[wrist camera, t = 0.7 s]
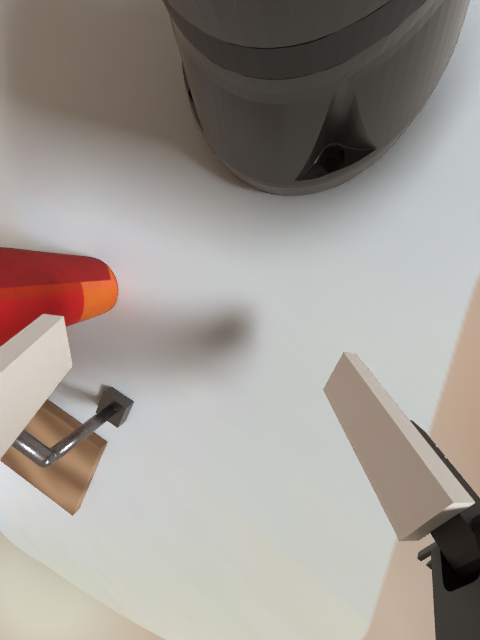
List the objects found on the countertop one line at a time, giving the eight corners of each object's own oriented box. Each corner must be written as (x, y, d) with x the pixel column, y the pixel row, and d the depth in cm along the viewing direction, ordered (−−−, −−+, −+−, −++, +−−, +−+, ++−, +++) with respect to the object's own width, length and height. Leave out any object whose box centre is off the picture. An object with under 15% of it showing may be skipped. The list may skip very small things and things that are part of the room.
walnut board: (24, 383, 29) (15, 387, 28) (107, 442, 28) (100, 448, 27) (8, 454, 34) (0, 460, 33) (79, 508, 33) (72, 515, 32)
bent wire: (22, 326, 27) (-94, 352, 19) (133, 401, 26) (58, 464, 18) (18, 346, 28) (-94, 379, 20) (125, 420, 27) (50, 488, 19)
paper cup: (52, 257, 24) (-257, 252, 11) (111, 235, 22) (-188, 192, 8) (80, 330, 25) (-164, 406, 12) (138, 317, 23) (-83, 390, 10)
